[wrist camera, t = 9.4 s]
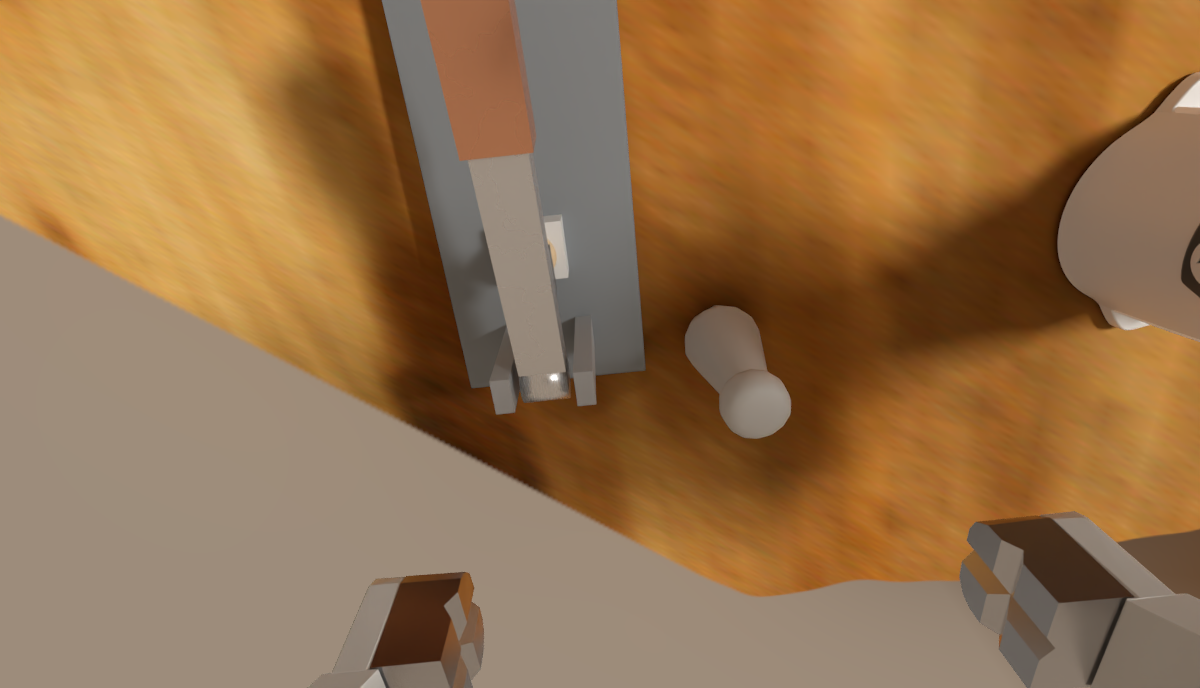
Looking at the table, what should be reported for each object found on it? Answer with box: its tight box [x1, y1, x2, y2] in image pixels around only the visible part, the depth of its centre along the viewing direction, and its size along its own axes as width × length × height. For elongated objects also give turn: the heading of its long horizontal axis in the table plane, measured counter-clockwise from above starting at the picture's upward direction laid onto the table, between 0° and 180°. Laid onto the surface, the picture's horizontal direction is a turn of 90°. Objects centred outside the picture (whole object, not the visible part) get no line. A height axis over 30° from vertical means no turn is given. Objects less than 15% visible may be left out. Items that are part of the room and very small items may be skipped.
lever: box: [420, 0, 571, 403], centre depth 31 cm, size 26×4×4 cm, turn 6°
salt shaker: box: [685, 305, 791, 439], centre depth 40 cm, size 6×6×13 cm
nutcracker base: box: [382, 0, 646, 415], centre depth 36 cm, size 28×14×11 cm, turn 6°
